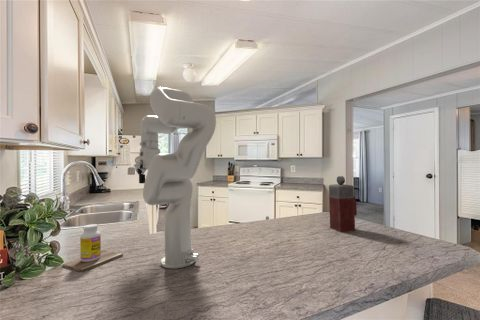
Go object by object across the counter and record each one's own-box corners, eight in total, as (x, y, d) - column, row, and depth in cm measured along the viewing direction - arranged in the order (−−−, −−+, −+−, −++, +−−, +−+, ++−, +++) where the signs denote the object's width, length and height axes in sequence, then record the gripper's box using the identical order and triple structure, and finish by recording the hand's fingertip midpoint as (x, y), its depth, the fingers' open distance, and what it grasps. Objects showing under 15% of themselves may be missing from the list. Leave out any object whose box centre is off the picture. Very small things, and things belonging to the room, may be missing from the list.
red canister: (359, 230, 126) (357, 176, 127) (340, 232, 124) (338, 176, 124) (348, 226, 135) (346, 175, 135) (329, 227, 132) (328, 176, 133)
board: (123, 255, 98) (123, 253, 98) (82, 272, 84) (82, 269, 84) (103, 251, 104) (103, 249, 104) (62, 266, 89) (62, 264, 89)
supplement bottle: (91, 263, 90) (90, 228, 90) (76, 262, 91) (75, 227, 91) (104, 256, 96) (104, 223, 96) (90, 255, 98) (89, 223, 98)
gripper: (140, 144, 104) (141, 184, 104) (169, 146, 120) (169, 181, 120) (128, 145, 108) (129, 183, 108) (157, 147, 123) (158, 181, 123)
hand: (150, 182), depth 114 cm, fingers open, 9 cm apart
